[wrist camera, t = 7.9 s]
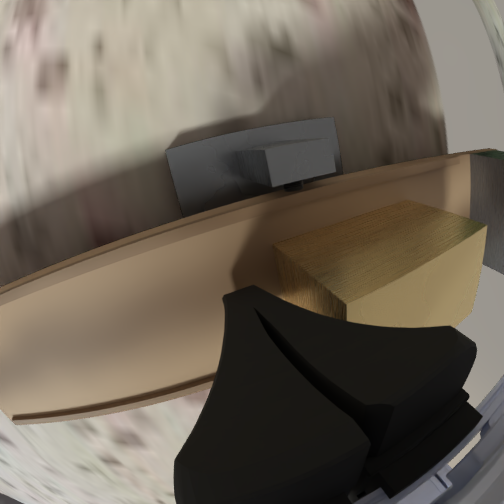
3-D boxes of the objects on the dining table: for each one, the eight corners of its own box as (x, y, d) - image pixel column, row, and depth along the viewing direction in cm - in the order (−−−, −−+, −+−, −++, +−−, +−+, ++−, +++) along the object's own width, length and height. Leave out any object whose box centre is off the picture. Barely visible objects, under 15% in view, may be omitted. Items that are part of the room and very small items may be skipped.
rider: (406, 273, 13) (471, 312, 9) (288, 329, 12) (345, 403, 7) (407, 199, 11) (487, 224, 7) (272, 244, 10) (346, 304, 6)
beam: (486, 235, 17) (539, 258, 12) (18, 415, 9) (1, 491, 4) (488, 144, 14) (549, 157, 9) (-57, 309, 6) (-109, 376, 1)
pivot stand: (344, 310, 18) (387, 348, 14) (230, 357, 16) (254, 413, 12) (322, 118, 13) (384, 111, 9) (165, 150, 11) (166, 146, 7)
